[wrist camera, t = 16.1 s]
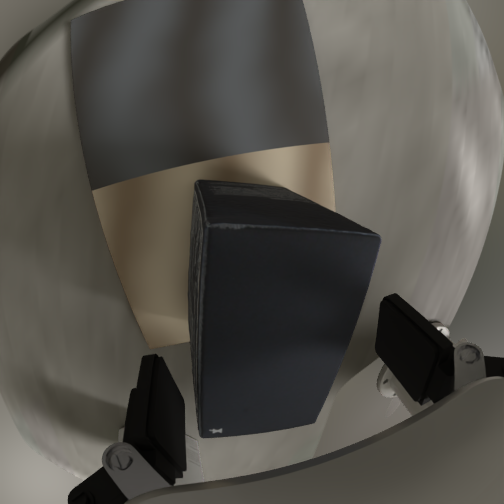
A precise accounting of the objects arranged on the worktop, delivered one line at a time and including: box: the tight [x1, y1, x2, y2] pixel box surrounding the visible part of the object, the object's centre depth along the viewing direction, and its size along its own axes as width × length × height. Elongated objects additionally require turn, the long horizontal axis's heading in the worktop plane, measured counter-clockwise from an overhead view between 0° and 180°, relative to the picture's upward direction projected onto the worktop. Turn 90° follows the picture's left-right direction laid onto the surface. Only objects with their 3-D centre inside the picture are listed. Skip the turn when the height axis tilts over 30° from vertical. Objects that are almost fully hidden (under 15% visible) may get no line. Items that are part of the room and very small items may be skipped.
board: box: [71, 0, 335, 349], centre depth 17 cm, size 16×26×1 cm, turn 9°
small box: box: [187, 179, 381, 438], centre depth 15 cm, size 11×6×10 cm, turn 173°
